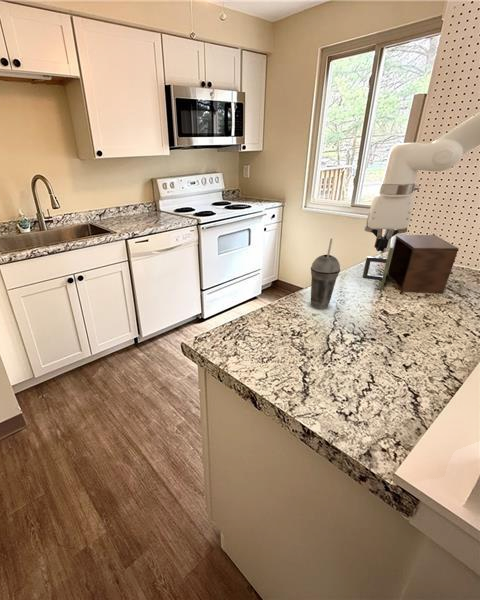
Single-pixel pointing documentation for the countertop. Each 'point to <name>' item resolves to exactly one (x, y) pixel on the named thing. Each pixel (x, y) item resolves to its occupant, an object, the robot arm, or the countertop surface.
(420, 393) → the countertop surface
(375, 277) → the cupboard door
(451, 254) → the cupboard
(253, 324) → the countertop surface
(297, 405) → the countertop surface
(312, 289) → the beverage cup
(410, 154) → the robot arm
